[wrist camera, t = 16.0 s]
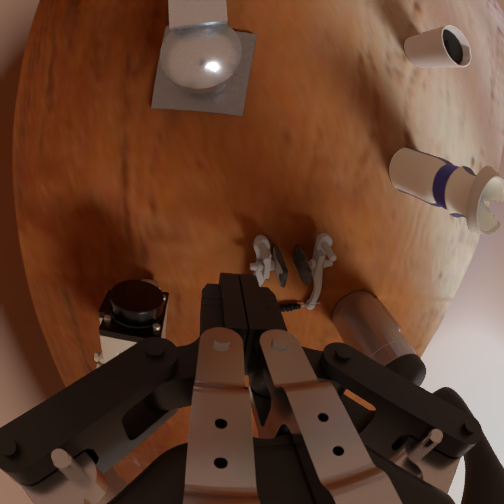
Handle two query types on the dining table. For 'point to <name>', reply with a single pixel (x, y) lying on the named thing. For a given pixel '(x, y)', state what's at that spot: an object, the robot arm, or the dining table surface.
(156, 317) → the ball valve
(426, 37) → the white cup
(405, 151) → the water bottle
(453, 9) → the dining table surface
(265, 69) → the dining table surface
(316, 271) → the bike brake
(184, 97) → the duct stub
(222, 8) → the elbow
